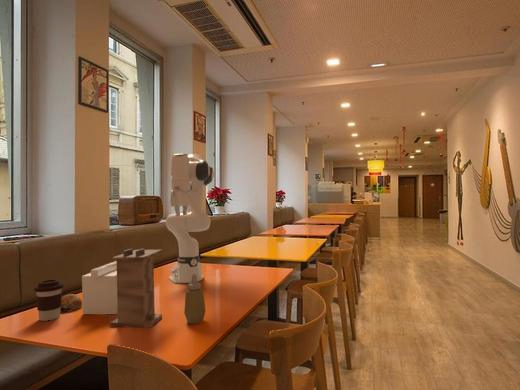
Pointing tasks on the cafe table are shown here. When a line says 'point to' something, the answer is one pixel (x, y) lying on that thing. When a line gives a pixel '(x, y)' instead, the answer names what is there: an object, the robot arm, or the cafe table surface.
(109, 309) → the cream tilted cube
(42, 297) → the coffee cup
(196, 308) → the squeeze bottle
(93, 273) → the brushed metal block
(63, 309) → the bread roll
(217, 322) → the cafe table surface
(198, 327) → the cafe table surface
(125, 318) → the walnut stand
